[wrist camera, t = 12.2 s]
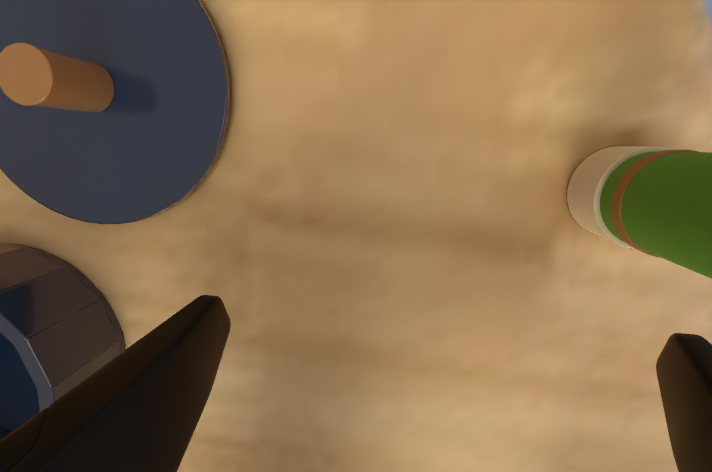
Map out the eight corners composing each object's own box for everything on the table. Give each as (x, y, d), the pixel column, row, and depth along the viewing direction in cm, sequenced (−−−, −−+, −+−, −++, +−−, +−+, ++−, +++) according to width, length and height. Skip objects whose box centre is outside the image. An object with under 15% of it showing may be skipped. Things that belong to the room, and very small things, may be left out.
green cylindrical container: (657, 233, 21) (1008, 349, 9) (565, 238, 22) (784, 356, 10) (663, 142, 21) (1059, 138, 8) (567, 149, 21) (810, 156, 9)
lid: (118, 270, 24) (48, 302, 19) (-68, 83, 23) (-196, 66, 18) (290, 97, 22) (259, 82, 17) (90, -126, 20) (-9, -215, 15)
